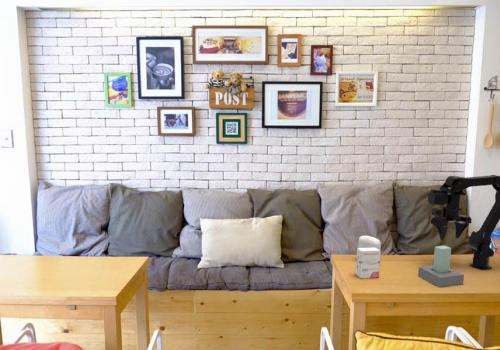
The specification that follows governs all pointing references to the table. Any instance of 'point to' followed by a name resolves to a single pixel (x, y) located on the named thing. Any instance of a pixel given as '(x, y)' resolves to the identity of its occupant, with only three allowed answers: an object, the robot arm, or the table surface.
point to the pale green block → (442, 259)
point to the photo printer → (369, 242)
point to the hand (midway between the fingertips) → (449, 239)
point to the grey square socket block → (441, 277)
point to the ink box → (368, 262)
